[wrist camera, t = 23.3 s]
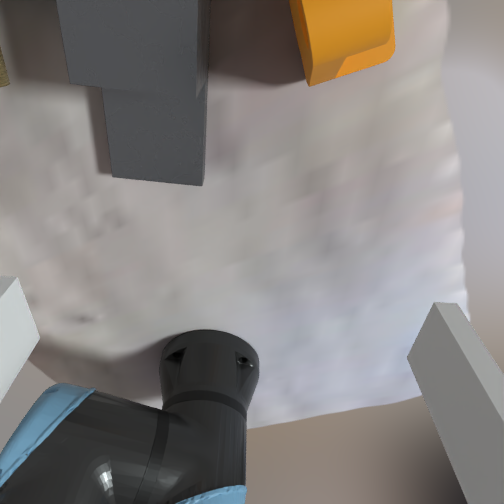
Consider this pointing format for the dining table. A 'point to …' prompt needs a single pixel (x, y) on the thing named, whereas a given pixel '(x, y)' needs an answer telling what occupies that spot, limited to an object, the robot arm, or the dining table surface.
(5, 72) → the axle
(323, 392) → the dining table surface
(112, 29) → the block
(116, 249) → the dining table surface
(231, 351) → the robot arm
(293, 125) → the dining table surface
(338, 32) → the bracket
